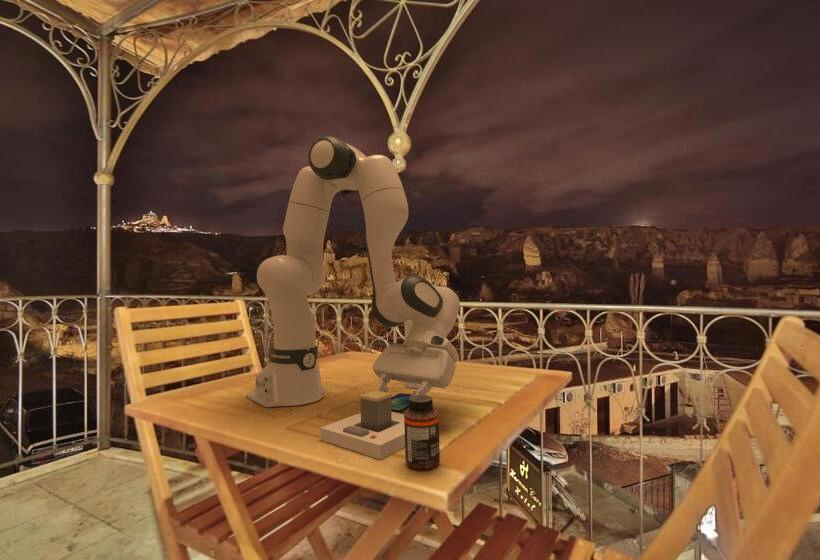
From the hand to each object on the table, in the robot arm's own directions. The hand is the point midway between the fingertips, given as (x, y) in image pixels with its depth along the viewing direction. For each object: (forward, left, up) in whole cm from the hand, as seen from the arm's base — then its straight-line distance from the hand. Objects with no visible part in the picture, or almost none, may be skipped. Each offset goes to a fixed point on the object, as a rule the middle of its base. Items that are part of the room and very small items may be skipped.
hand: (397, 397), depth 89 cm
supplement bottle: (+15, -12, -7) cm, 20 cm away
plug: (0, -7, -6) cm, 9 cm away
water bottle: (-17, +31, -7) cm, 36 cm away
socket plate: (0, -7, -6) cm, 9 cm away
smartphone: (-11, +14, -7) cm, 20 cm away
